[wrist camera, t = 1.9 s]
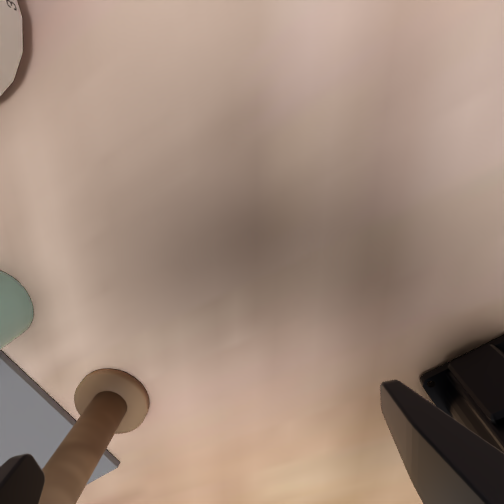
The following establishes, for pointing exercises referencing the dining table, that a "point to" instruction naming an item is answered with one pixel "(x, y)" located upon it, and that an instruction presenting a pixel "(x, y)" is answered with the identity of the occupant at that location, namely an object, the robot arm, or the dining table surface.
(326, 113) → the dining table surface
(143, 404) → the walnut gate posts
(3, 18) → the supplement can
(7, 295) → the teal bottle
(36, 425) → the charcoal rubber mat
